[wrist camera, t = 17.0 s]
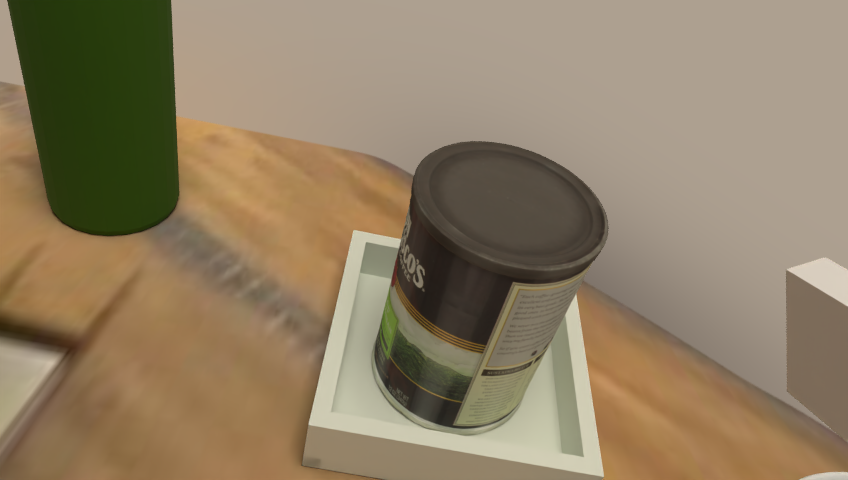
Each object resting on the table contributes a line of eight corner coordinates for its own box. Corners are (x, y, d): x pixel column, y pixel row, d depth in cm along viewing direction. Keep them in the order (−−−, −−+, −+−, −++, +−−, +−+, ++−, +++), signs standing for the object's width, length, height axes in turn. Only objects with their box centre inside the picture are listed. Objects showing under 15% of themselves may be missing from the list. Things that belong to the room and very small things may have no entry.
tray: (301, 465, 37) (308, 424, 35) (346, 270, 49) (353, 229, 47) (577, 512, 38) (604, 476, 36) (554, 311, 51) (573, 273, 48)
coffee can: (363, 425, 39) (409, 246, 30) (377, 297, 47) (416, 125, 38) (534, 449, 40) (628, 284, 31) (520, 320, 48) (591, 159, 39)
